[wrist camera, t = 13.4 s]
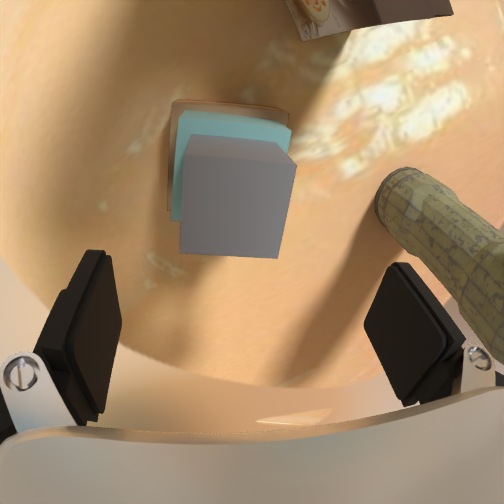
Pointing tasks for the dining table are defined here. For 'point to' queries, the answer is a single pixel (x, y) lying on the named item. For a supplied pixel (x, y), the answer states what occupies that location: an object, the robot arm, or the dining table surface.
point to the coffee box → (359, 14)
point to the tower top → (224, 127)
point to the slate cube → (234, 196)
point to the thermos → (449, 247)
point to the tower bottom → (213, 107)
